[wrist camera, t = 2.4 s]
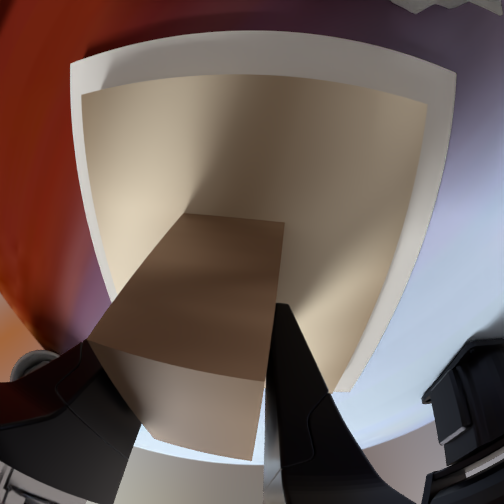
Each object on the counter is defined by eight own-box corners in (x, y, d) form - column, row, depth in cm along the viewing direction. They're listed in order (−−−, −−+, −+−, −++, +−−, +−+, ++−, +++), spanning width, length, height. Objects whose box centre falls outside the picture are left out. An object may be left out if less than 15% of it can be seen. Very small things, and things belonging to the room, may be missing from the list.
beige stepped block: (413, 102, 6) (577, 151, 1) (331, 377, 13) (330, 484, 8) (99, 92, 7) (-56, 136, 2) (150, 350, 14) (108, 440, 9)
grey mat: (447, 73, 6) (456, 73, 5) (348, 383, 14) (349, 392, 14) (80, 63, 7) (70, 63, 6) (138, 351, 16) (134, 359, 15)
